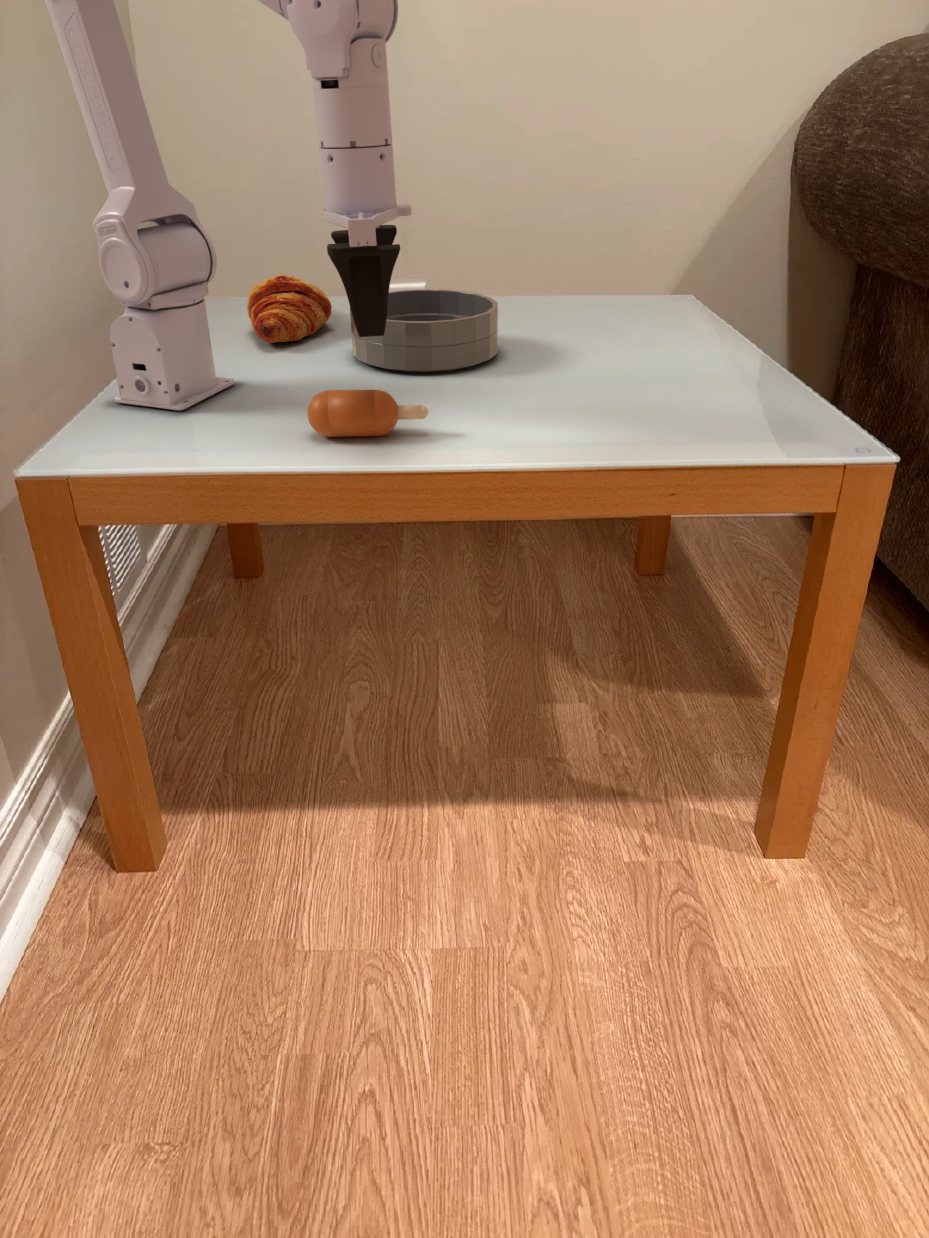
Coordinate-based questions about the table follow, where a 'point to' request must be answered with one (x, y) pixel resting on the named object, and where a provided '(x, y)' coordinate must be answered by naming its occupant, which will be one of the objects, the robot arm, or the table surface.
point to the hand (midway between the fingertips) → (371, 325)
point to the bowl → (432, 332)
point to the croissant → (287, 309)
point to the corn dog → (358, 413)
